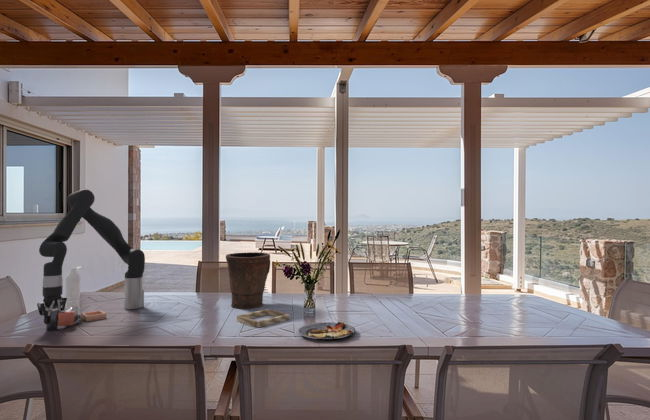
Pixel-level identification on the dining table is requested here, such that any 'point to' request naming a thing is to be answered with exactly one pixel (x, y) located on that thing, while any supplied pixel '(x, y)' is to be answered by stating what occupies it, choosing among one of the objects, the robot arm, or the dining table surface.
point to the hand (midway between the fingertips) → (52, 322)
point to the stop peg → (53, 319)
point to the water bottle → (73, 289)
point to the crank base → (78, 321)
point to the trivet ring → (247, 320)
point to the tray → (93, 315)
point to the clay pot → (247, 278)
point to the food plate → (327, 330)
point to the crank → (68, 316)
